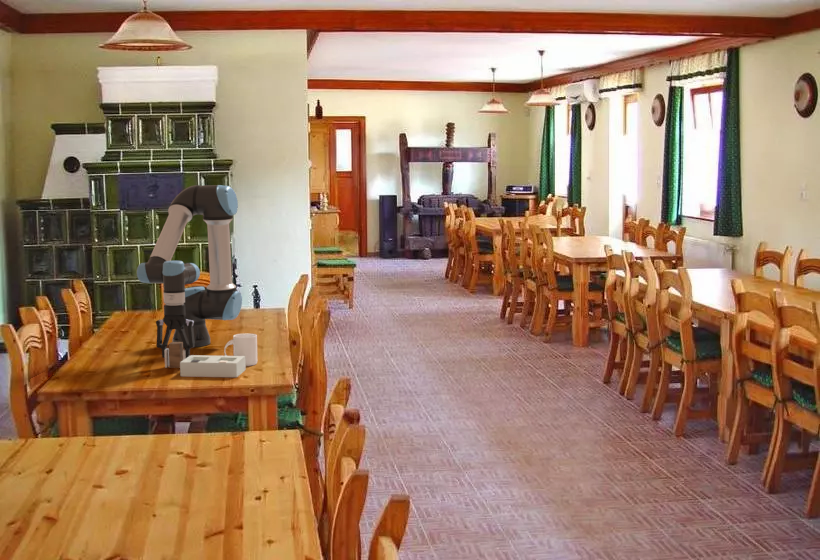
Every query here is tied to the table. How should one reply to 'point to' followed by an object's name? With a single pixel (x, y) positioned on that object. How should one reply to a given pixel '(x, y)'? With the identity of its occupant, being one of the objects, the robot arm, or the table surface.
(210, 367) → the socket board
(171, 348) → the plug
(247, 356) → the mug
